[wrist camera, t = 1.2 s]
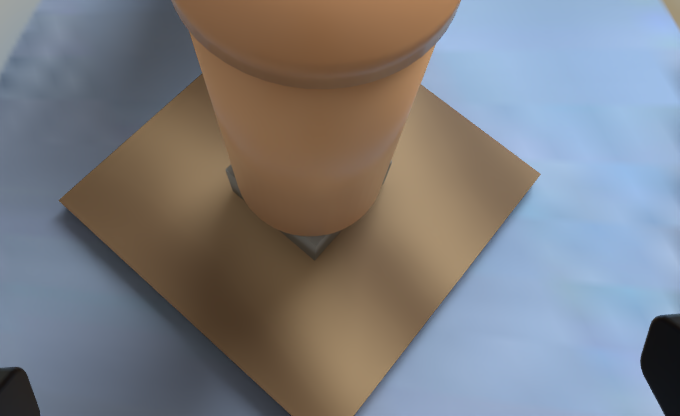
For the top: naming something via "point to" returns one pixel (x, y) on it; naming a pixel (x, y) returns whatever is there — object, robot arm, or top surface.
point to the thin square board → (302, 247)
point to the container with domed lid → (313, 97)
